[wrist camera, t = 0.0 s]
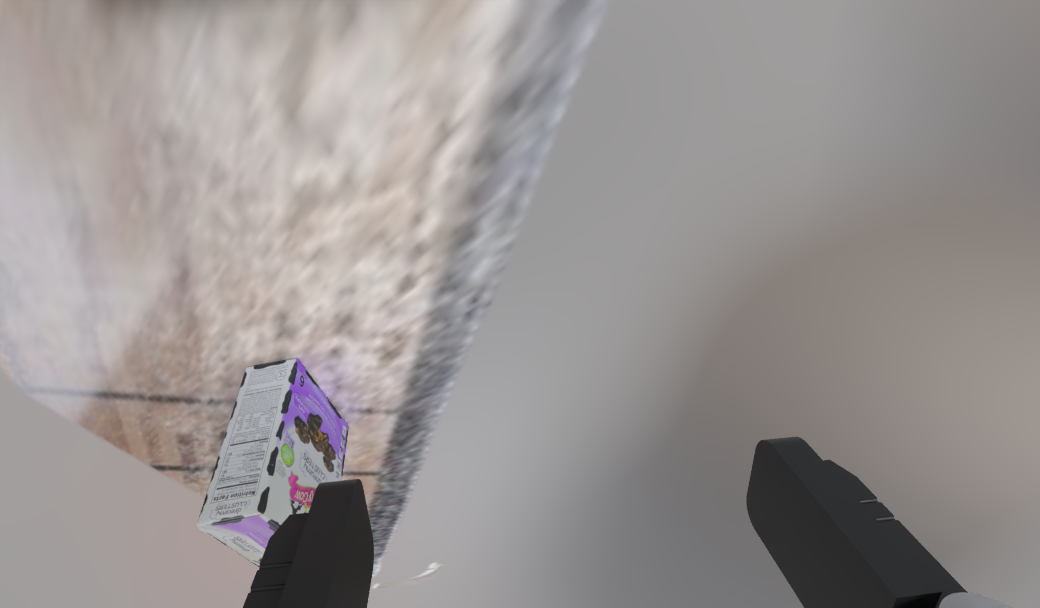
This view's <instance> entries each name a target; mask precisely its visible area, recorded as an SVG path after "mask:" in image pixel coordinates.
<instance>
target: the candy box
mask: <svg viewBox="0 0 1040 608" xmlns="http://www.w3.org/2000/svg"><path fill="white" fill-rule="evenodd" d="M348 428H349V427H348V425H347V424H346V422H345V421H344V419H343V418H342V417H341V416H340V415H339V413H338V412H337V410H336V409H335V407H334V406H333V405H332V404H331V402H330V401H329V400H328V398H327V397H326V396H325V394H324V393H323V392H322V390H321V389H320V388H319V387H318V385H317V384H316V382H315V381H314V380H313V378H312V377H311V376H310V374H309V373H308V372H307V370H306V369H305V368H304V366H303V365H302V364H301V362H300V361H299V360H298V358H297V359H291V360H284V361H278V362H273V363H267V364H260V365H255V366H249V367H246V370H245V374H244V377H243V381H242V383H241V387H240V390H239V393H238V396H237V399H236V403H235V406H234V409H233V412H232V416H231V419H230V422H229V424H228V427H227V431H226V434H225V437H224V440H223V444H222V447H221V450H220V453H219V456H218V460H217V463H216V466H215V469H214V472H213V475H212V479H211V482H210V485H209V487H208V491H207V495H206V497H205V501H204V504H203V507H202V510H201V514H200V516H199V520H198V523H197V526H196V527H197V529H199V530H200V531H202V532H207V533H208V534H210V535H211V536H213V537H214V538H216V539H217V540H219V541H221V542H222V543H223V544H225V545H227V546H228V547H230V548H231V549H232V550H234V551H235V552H237V553H239V554H240V555H242V556H243V557H244V558H246V559H247V560H249V561H251V562H252V563H254V564H255V565H257V566H258V567H260V566H259V565H260V562H261V559H262V557H263V554H264V552H265V549H266V546H267V544H268V541H269V539H270V537H271V536H272V535H273V534H274V533H275V531H276V530H277V529H278V528H279V527H280V526H281V524H282V523H283V522H284V521H285V520H286V519H287V517H288V516H289V515H291V514H301V513H309V509H310V506H311V503H312V500H313V497H314V494H315V491H316V488H317V486H318V485H319V483H324V482H334V481H342V473H343V466H344V458H345V451H346V443H347V436H348Z"/></svg>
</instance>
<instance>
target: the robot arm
mask: <svg viewBox="0 0 1040 608" xmlns="http://www.w3.org/2000/svg"><path fill="white" fill-rule="evenodd" d="M747 510H748V514H749V517H750V520H751V523H752V525H753V527H754V529H755V530H756V532H757V534H758V535H759V537H760V538H761V540H762V542H763V543H764V545H765V546H766V548H767V549H768V551H769V553H770V554H771V556H772V557H773V559H774V560H775V562H776V564H777V565H778V567H779V568H780V570H781V571H782V573H783V575H784V576H785V578H786V579H787V581H788V582H789V584H790V586H791V587H792V589H793V590H794V592H795V594H796V595H797V597H798V598H799V600H800V602H801V603H802V605H803V606H804V608H1011V607H1010V606H1007V605H1006V604H1004V603H1002V602H999V601H997V600H994V599H992V598H990V597H986V596H983V595H980V594H974V593H968V592H967V591H965V589H963V588H962V586H961V585H960V584H959V583H958V582H957V581H956V580H955V579H954V578H953V577H952V576H951V575H950V574H949V573H948V572H947V571H946V570H945V569H944V568H943V567H942V566H941V565H940V563H939V562H938V561H937V560H936V559H935V558H934V557H933V556H932V555H931V554H930V553H929V552H928V551H927V550H926V549H925V548H924V547H923V546H922V545H921V544H920V543H919V542H918V540H917V539H915V537H914V536H913V535H912V534H911V533H909V531H908V530H907V529H906V528H905V527H904V526H903V525H902V524H901V523H900V522H899V521H898V520H895V519H894V515H893V514H892V513H891V512H890V511H889V510H888V509H887V508H886V507H885V506H884V505H883V504H882V503H881V502H878V501H877V497H876V496H875V495H874V494H872V492H871V491H870V490H869V489H868V488H867V487H866V486H865V485H864V484H863V483H862V482H861V481H860V480H859V479H858V478H857V477H856V476H855V475H853V474H851V473H850V472H848V471H847V470H845V469H843V468H842V467H840V466H839V465H837V464H836V463H834V462H832V461H831V460H824V461H823V460H822V459H821V458H820V457H819V456H818V455H817V454H816V453H815V451H814V450H813V449H812V448H811V447H810V446H809V445H808V444H807V443H806V442H805V441H804V440H803V439H801V438H799V437H789V438H779V439H769V440H761V441H760V442H759V443H758V444H757V446H756V450H755V455H754V460H753V465H752V471H751V476H750V482H749V487H748V492H747ZM373 562H374V544H373V535H372V530H371V525H370V520H369V515H368V510H367V505H366V500H365V495H364V490H363V486H362V482H361V480H360V479H354V480H344V481H334V482H324V483H319V485H318V486H317V488H316V491H315V494H314V497H313V500H312V503H311V506H310V509H309V513H301V514H291V515H289V516H288V517H287V519H286V520H285V521H284V522H283V523H282V524H281V526H280V527H279V528H278V529H277V530H276V531H275V533H274V534H273V535H272V536H271V537H270V539H269V541H268V544H267V546H266V549H265V552H264V554H263V557H262V559H261V562H260V565H259V566H260V569H259V570H258V571H257V572H256V575H255V578H254V580H253V583H252V586H251V592H250V593H248V596H247V598H246V601H245V603H244V606H243V608H367V603H368V596H369V590H370V584H371V578H372V572H373Z"/></svg>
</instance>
